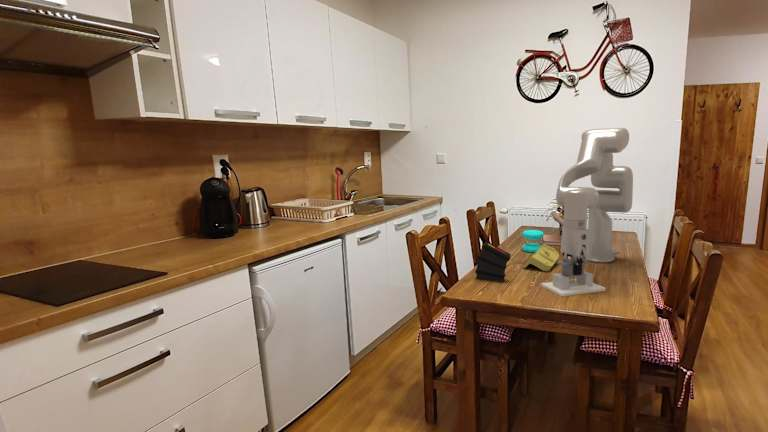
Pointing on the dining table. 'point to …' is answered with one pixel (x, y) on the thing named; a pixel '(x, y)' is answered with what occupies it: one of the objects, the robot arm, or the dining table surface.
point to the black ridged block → (492, 263)
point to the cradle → (572, 285)
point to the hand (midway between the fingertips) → (573, 272)
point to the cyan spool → (534, 236)
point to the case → (553, 238)
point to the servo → (570, 266)
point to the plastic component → (543, 258)
